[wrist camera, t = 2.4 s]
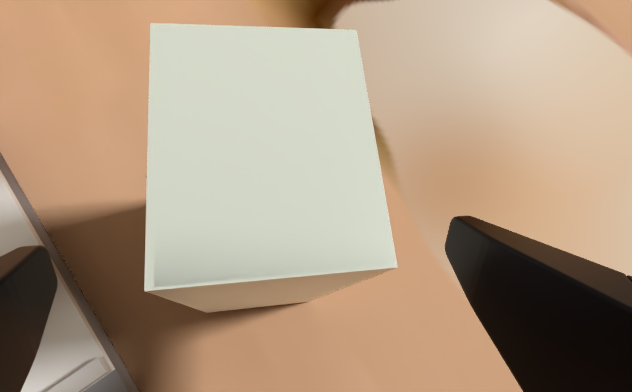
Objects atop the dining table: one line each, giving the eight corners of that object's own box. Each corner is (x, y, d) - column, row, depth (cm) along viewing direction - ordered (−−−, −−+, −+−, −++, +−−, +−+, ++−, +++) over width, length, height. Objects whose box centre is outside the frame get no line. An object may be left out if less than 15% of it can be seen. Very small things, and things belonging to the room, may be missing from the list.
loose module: (308, 301, 18) (397, 267, 7) (206, 312, 17) (143, 291, 6) (297, 186, 19) (355, 26, 9) (203, 190, 18) (150, 19, 8)
